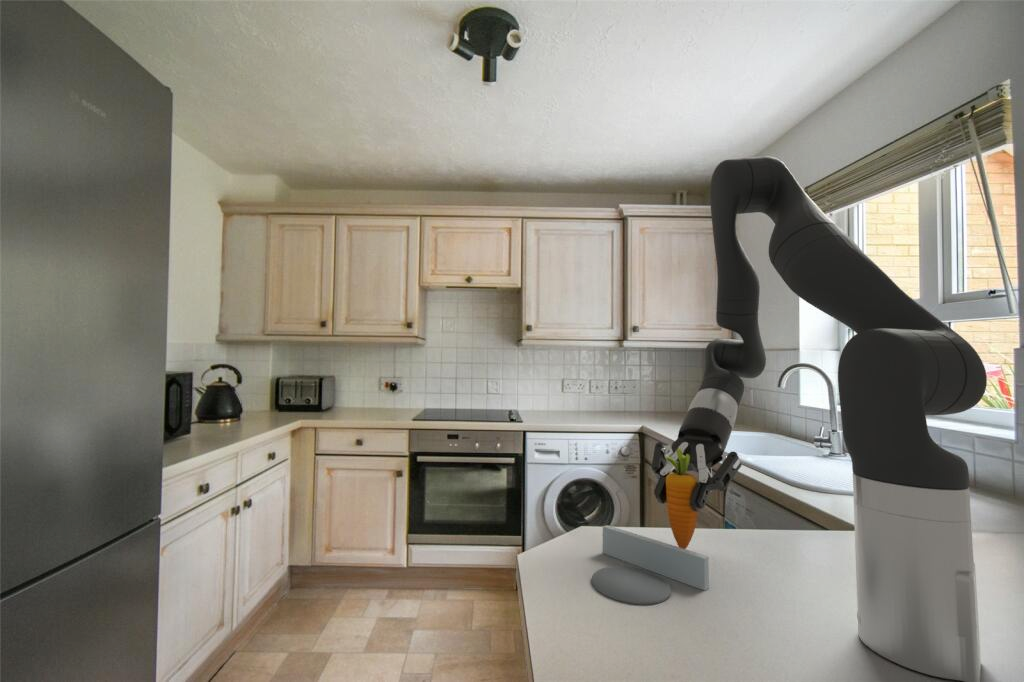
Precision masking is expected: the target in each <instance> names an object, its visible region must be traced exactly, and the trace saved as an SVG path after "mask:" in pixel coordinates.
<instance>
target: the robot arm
mask: <svg viewBox="0 0 1024 682" xmlns="http://www.w3.org/2000/svg"><path fill="white" fill-rule="evenodd" d="M709 201H710V203H709V204H710V214H711V215H710V216H711V222H712V223H711V224H712V225H711V226H712V233H713V234H712V235H713V243H714V244H713V245H714V251H715V261H716V273H717V290H716V291H717V292H716V293H717V294H716V312H715V313H716V314H715V316H716V317H715V319H716V324H717V325H718V326H719V327H721V328H722V329H725V330H728V331H730V332H731V331H732V332H734V333H736V334H737V335H739V336H740V338H741V339H734V338H733V339H730V338H721V337H720V338H715V339H713V340H711V341H710V342H709V343H708V344H707V345H706V346H705V351H704V373H703V378H702V381H701V384H700V387H698V391H697V393H696V395H695V396H694V397H693V400H692V401H691V403H690V405H689V408H688V410H687V412H686V413H685V416H684V418H683V421H682V423H681V426H680V428H679V430H678V436H677V438H676V439H675V441H673V442H672V443H671V444H669V445H663V443H662V442H660V441H659V442H658V441H657V442H656V443H655V445H654V450H653V455H652V463H651V470H652V472H653V473H654V475H655V477H656V479H657V483H656V485H655V487H654V490H653V494H654V496H655V499H656V500H657V502H658V503H659V504H663V505H664V504H665V503H666V502H667V501H666V476H667V475H669V474H671V473H677V471H676V469H675V467H674V466H673V464H672V463H671V462H669V461H668V460H666V457H668V456H669V457H671V458H673V459H674V460H675V461H677V462H679V459H678V456H677V452H676V450H677V449H681V451H682V453H683V455H685V456H686V454H688V455H690V461H689V465H688V468H687V471H686V472H692V471H693V472H695V473H697V474H698V480H699V482H698V483H696V486H695V488H694V491H693V494H692V496H691V499H690V506H691V508H692V510H693V511H696V512H698V513H699V512H700V510H701V509H704V507H705V506H706V503H707V500H708V498H709V495H710V493H712V491H715V490H718V491H719V492H724V491H725V490H726V489H727V488H728V486H729V484H731V482H732V481H733V479H734V478H735V476H736V474H737V473H738V471H739V470H740V468H742V465H743V464H742V462H741V459H740V456H739V455H738V452H737V451H730V452H726V451H725V450H726V448H727V446H728V442H729V440H730V437H731V434H732V431H733V428H734V427H735V424H736V420H737V414H738V413H737V412H738V408H739V407H740V403H741V400H742V398H743V395H744V392H745V384H744V381H743V379H742V378H744V379H755V378H758V377H759V376H760V375H762V373H763V372H764V370H765V368H766V366H767V365H766V363H767V356H766V351H765V347H764V344H763V340H762V337H761V332H760V326H759V305H760V294H761V293H760V279H759V276H758V273H757V271H756V269H755V267H754V265H753V264H752V262H751V260H750V258H749V257H748V255H747V254H746V251H745V249H744V248H743V246H742V244H741V241H740V239H739V235H738V231H737V230H738V229H737V215H740V214H743V215H744V214H752V213H753V214H755V213H761V214H764V215H766V216H767V217H769V219H771V220H772V222H773V223H774V224H775V225H774V227H773V230H772V233H771V235H770V238H769V244H768V258H769V261H770V263H771V265H772V266H773V267H774V268H773V269H775V271H776V272H777V274H778V275H779V276H780V278H781V279H782V280H783V282H784V283H785V284H786V286H788V288H789V289H790V290H791V292H793V293H794V294H795V295H796V296H797V297H799V298H800V299H802V300H803V301H805V302H806V303H807V304H809V305H811V306H813V308H816V309H818V310H820V311H821V312H822V313H824V314H826V315H828V316H829V317H831V318H833V319H835V320H837V321H839V322H840V323H842V324H843V325H845V326H847V327H848V328H849V329H850V330H853V332H854V333H856V334H854V335H853V336H852V337H851V338H850V339H849V340H848V341H847V342H846V343H845V345H844V347H843V349H842V351H841V353H840V356H839V360H838V366H837V367H838V368H837V387H838V396H839V407H840V408H839V409H840V419H841V429H842V436H843V442H844V445H845V448H846V450H847V452H848V454H849V456H850V459H851V466H852V468H851V469H852V487H853V488H852V491H853V492H852V493H853V494H852V495H853V518H854V519H853V521H854V550H855V551H854V552H855V555H854V556H855V580H856V584H855V586H856V602H857V603H856V604H857V605H856V608H857V609H856V619H857V631H858V632H857V634H858V637H859V639H860V640H861V642H863V644H865V646H867V647H868V648H869V649H870V650H872V652H875V653H877V654H878V655H879V656H881V657H883V658H885V659H887V660H889V661H891V662H893V663H896V664H898V665H899V666H901V667H904V668H907V669H910V670H912V671H916V672H919V673H922V674H925V675H929V676H932V677H937V678H941V679H945V680H946V679H947V680H954V681H955V680H956V681H961V682H981V665H982V663H981V662H982V660H981V659H982V658H981V657H982V656H981V641H980V625H979V610H978V609H979V608H978V607H979V606H978V590H977V589H978V588H977V572H976V571H977V570H976V563H975V559H974V545H973V544H974V543H973V529H972V528H973V527H972V525H973V524H972V513H971V497H970V496H971V494H970V492H971V491H970V477H969V476H970V473H969V467H968V464H967V462H966V460H965V459H963V458H962V457H961V456H959V455H957V454H955V453H953V452H951V451H948V450H947V449H944V448H943V447H941V446H940V445H938V443H936V442H935V441H934V440H933V438H932V437H931V435H930V433H929V430H928V423H927V417H926V416H947V415H955V414H958V413H960V414H961V413H963V412H966V411H968V410H970V409H972V408H974V407H975V406H977V404H979V403H980V401H981V400H982V398H983V396H984V395H985V393H986V389H987V386H988V385H987V383H988V382H987V371H986V368H985V367H986V366H985V365H984V363H983V360H982V359H981V357H980V355H979V354H978V352H977V351H976V349H975V348H974V347H973V346H972V345H971V344H970V343H969V342H968V341H967V340H966V339H964V338H963V336H961V335H960V334H959V333H957V332H956V331H955V330H953V329H952V328H950V326H948V325H947V324H945V323H944V322H943V321H941V320H940V319H939V318H938V317H937V316H935V315H934V314H933V313H931V312H930V311H929V310H927V309H926V308H924V307H923V306H922V305H921V304H919V302H917V301H915V300H914V298H912V297H911V296H909V295H908V294H907V293H906V292H905V291H904V290H902V288H901V287H900V286H898V285H897V284H896V283H895V281H893V280H892V278H890V277H889V275H888V274H887V273H885V272H884V271H883V270H882V269H881V268H880V267H879V266H878V265H877V263H875V262H874V261H873V260H872V259H871V258H870V257H869V256H868V255H867V254H866V253H865V252H864V251H863V250H861V248H860V247H859V246H858V245H857V243H855V241H854V240H853V239H852V238H851V237H850V236H849V235H848V234H847V233H846V232H845V231H844V230H843V229H842V228H841V227H839V226H838V225H837V224H836V223H835V221H833V220H832V219H830V218H829V217H828V216H827V215H826V214H825V213H824V211H823V210H822V209H821V208H820V207H819V206H818V205H817V204H816V203H815V201H814V200H812V198H811V197H810V196H809V195H808V194H807V193H806V192H805V191H804V189H803V187H802V186H801V185H800V183H799V181H797V179H796V178H795V176H794V174H793V173H792V172H791V170H790V169H789V168H788V167H787V166H786V164H785V163H784V162H783V161H781V160H780V159H779V158H777V157H774V156H769V155H768V156H767V155H765V156H764V155H763V156H761V155H760V156H753V157H752V156H751V157H740V158H739V157H738V158H729V159H724V160H722V161H721V162H720V163H718V164H717V165H716V167H715V169H714V171H713V173H712V176H711V180H710V187H709ZM671 454H672V455H671ZM670 455H671V456H670ZM719 463H721V465H720V466H719V467H718V469H717V470H716V471H715V473H714V474H713V469H712V468H714V467H715V466H717V465H718V464H719ZM679 464H680V462H679Z"/></svg>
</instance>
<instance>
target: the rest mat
mask: <svg viewBox="0 0 1024 682" xmlns="http://www.w3.org/2000/svg"><path fill="white" fill-rule="evenodd" d="M591 584H592V586H593V588H594V589H595V590H596V591H597V592H598V593H600V594H601V595H603V596H605V597H607V598H609V599H612V600H614V601H617V602H622V603H626V604H631V605H632V604H633V605H639V606H640V605H643V606H648V605H656V604H661V603H663V602H666V601H667V600H668V599H669V598H670V597H671V594H672V588H671V585H670V583H669V582H668V581H666V580H665V579H664V578H663V577H661V576H659V574H657V573H654V572H652V571H649V570H644V569H641V568H635V567H630V566H609V567H604V568H600V569H598V570H596V571H595V572H594V573H593V574H592V575H591Z"/></svg>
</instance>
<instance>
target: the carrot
mask: <svg viewBox="0 0 1024 682" xmlns="http://www.w3.org/2000/svg"><path fill="white" fill-rule="evenodd" d="M676 452H677V456H678V459H679V462H680V464H679V462H677V461H675V460H674V459H673V458H671V456H670V455H669V456H668V457H666V461H667V462H668V461H669V462H671V463H672V464H673V466H674V467H675V469H676V471H677V473H671V472H670V473H671V474H669V475H667V476H666V501H665V502H666V509H667V515H668V520H669V526H670V529H671V532H672V534H673V538H674V540H675V542H676V544H677V547H680V548H683V549H686V550H687V548H688V546H689V544H690V542H691V540H692V538H693V535H694V533H695V529H696V526H697V518H698V513H699V512H696V511H693V510H692V508H691V506H690V499H691V496H692V494H693V491H694V488H695V486H696V483H699V482H698V480H697V478H696V477H695V476H694V475H693V474H690V473H687V472H688V471H687V468H688V465H689V461H690V455H688V454H686V456H685V455H683V453H682V451H681V449H677V450H676Z"/></svg>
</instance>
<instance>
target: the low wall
mask: <svg viewBox="0 0 1024 682" xmlns="http://www.w3.org/2000/svg"><path fill="white" fill-rule="evenodd" d="M602 554H604V555H606V556H609V557H612V558H615V559H617V560H620V561H623V562H625V563H628V564H631V565H634V566H637V567H639V568H642V569H643V570H644V569H646V571H649V572H652V573H654V574H657V575H661V576H663V577H667V578H668V579H672V580H674V581H678V582H680V583H683V584H685V585H688V586H692V587H693V588H695V589H696V588H697V589H699V590H701V591H706V590H708V589H709V588H710V585H709V584H710V581H709V579H710V578H709V577H710V573H709V572H710V569H709V568H710V567H709V566H710V565H709V563H710V562H709V561H710V558H709V557H710V556H708V555H705V554H702V553H698V552H695V551H692V550H688V549H687V548H686V549H683V548H680V547H679V546H676V545H672V544H670V543H667V542H663V541H659V540H656V539H653V538H650V537H647V536H644V535H640V534H639V533H638V534H637V533H633V532H631V531H627V530H624V529H621V528H617V527H614V526H611V525H608V524H606V525H603V526H602Z"/></svg>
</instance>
